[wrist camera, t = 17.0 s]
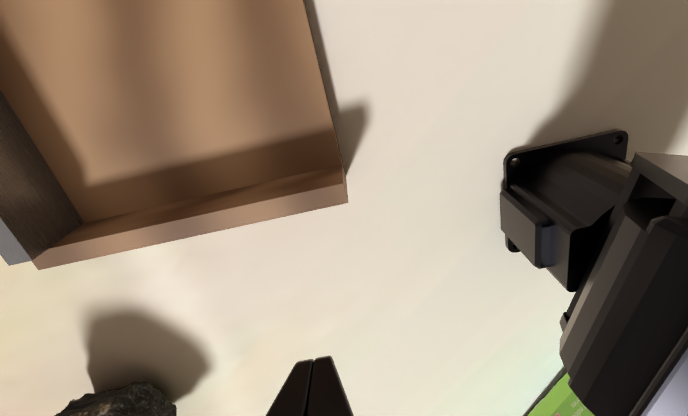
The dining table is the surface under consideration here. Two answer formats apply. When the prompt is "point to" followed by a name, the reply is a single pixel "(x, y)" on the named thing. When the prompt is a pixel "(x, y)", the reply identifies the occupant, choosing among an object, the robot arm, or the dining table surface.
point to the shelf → (171, 115)
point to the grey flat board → (29, 195)
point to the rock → (122, 403)
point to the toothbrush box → (560, 402)
